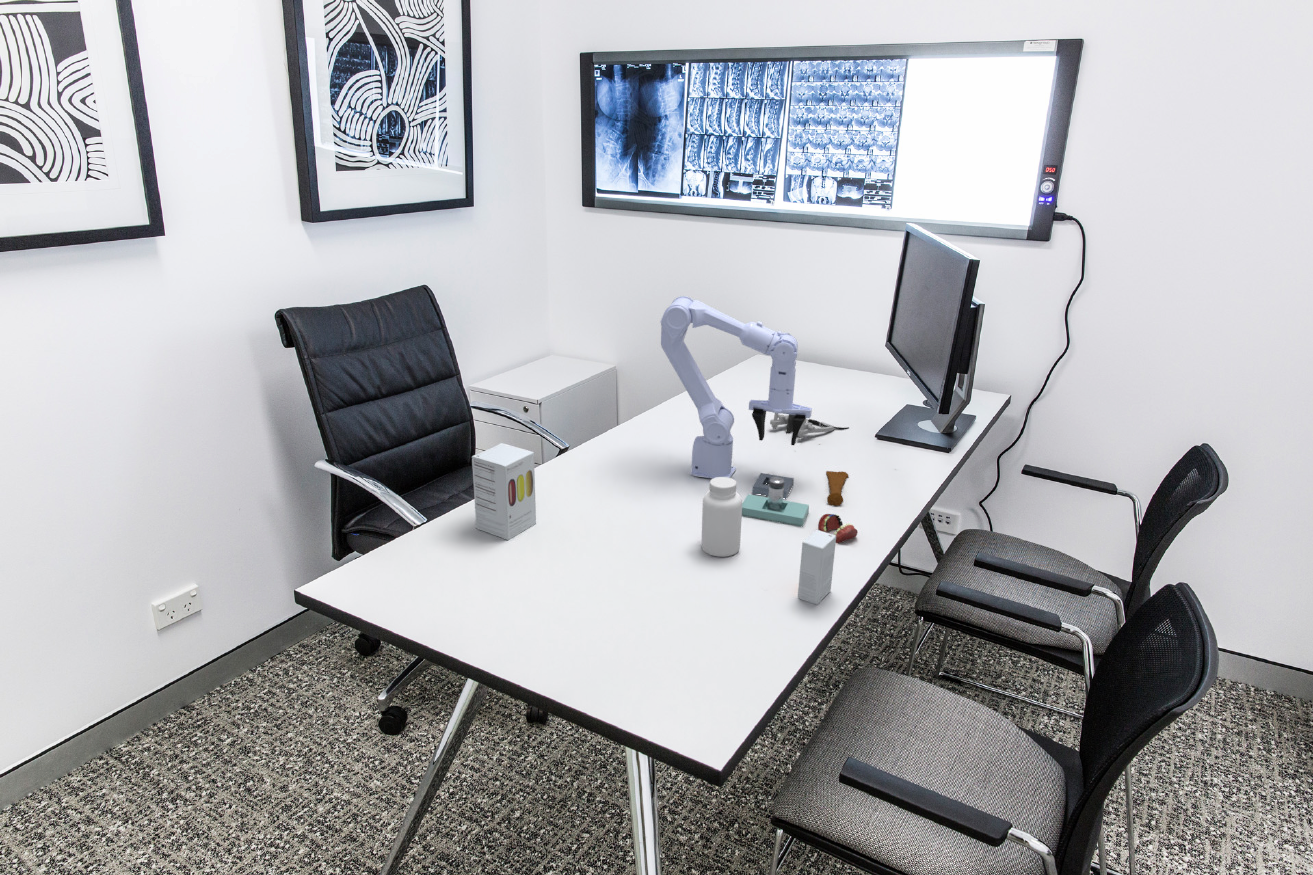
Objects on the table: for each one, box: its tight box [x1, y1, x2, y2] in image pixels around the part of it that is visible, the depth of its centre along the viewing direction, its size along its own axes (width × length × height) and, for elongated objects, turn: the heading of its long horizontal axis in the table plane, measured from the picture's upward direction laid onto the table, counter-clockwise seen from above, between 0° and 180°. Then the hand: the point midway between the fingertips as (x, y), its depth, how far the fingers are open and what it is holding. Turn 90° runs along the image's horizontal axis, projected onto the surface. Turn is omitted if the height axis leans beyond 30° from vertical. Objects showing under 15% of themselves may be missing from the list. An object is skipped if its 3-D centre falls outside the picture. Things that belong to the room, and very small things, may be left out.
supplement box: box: [471, 442, 537, 541], centre depth 177 cm, size 10×9×17 cm
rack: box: [742, 493, 810, 527], centre depth 188 cm, size 14×7×2 cm, turn 70°
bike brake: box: [769, 413, 850, 440], centre depth 235 cm, size 14×7×20 cm
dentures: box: [817, 513, 858, 544], centre depth 179 cm, size 6×4×8 cm
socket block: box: [751, 472, 795, 500], centre depth 199 cm, size 8×8×2 cm
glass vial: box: [767, 477, 784, 512], centre depth 187 cm, size 3×3×8 cm
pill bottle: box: [701, 477, 743, 558], centre depth 171 cm, size 8×8×15 cm
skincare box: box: [797, 529, 837, 605], centre depth 156 cm, size 6×4×12 cm
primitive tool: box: [825, 470, 850, 507], centre depth 200 cm, size 19×6×4 cm, turn 170°
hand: (777, 441), depth 201 cm, fingers open, 7 cm apart
